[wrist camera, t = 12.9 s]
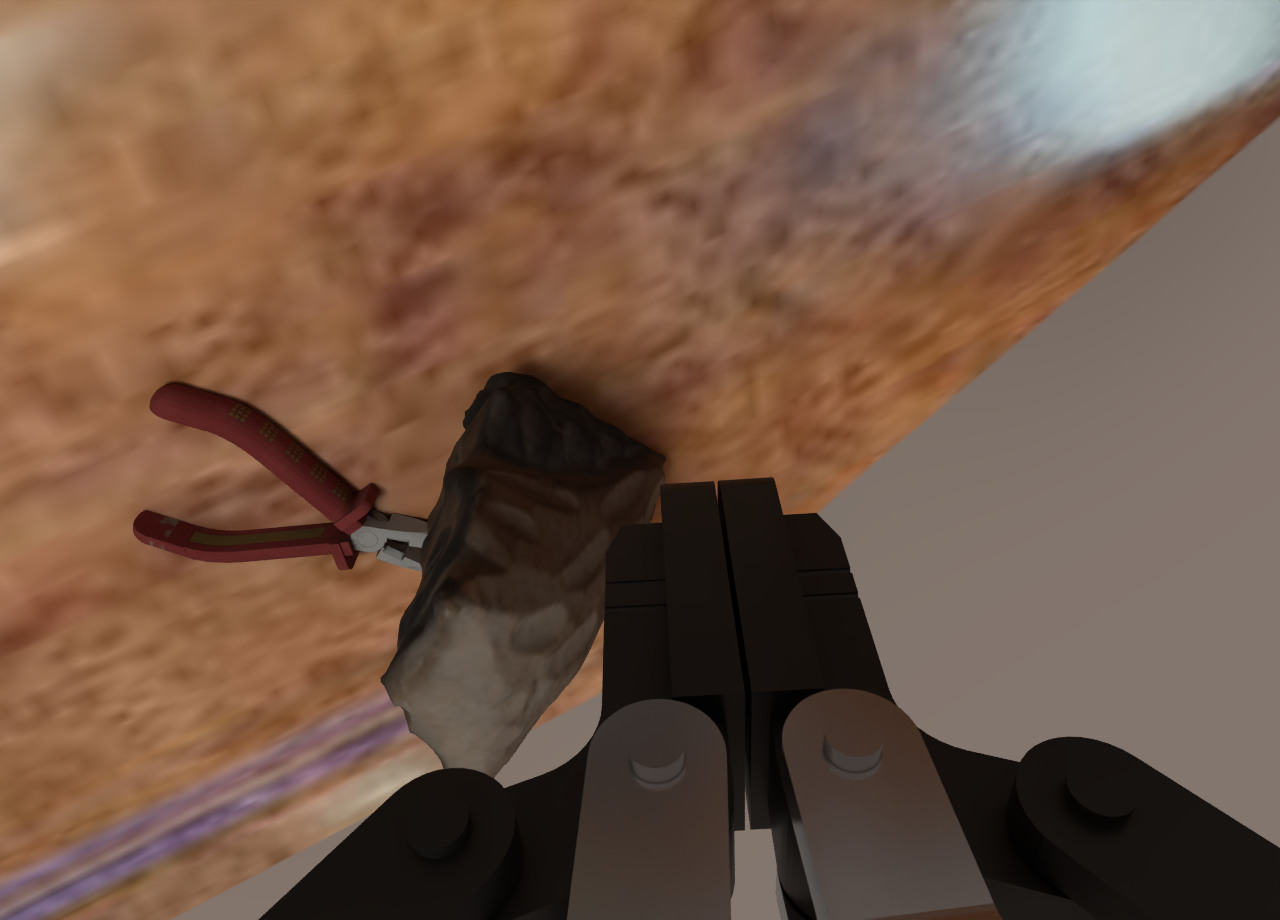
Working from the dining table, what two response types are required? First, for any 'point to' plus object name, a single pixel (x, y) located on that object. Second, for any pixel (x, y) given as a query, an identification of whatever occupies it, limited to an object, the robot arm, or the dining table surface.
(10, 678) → the dining table surface
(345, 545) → the pliers
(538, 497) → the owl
